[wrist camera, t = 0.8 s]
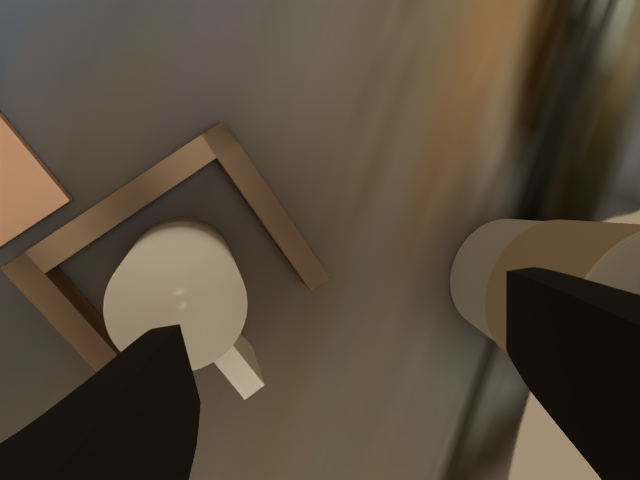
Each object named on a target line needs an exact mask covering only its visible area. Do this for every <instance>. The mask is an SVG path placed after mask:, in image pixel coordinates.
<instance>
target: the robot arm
mask: <svg viewBox="0 0 640 480" xmlns="http://www.w3.org/2000/svg"><path fill="white" fill-rule="evenodd" d="M506 351H507V353H508V355H509V357H510V358H511V360H512V362H513V364H514V365H515V367H516V369H517V371H518V372H519V374H520V375H521V377H522V379H523V380H524V382H525V384H526V385H527V387H528V388H529V390H530V391H531V392H532V393H533V395H534V396H535V397H536V398H537V400H538V401H539V402H540V403H541V405H542V406H543V407H544V409H545V410H546V411H547V412H548V413H549V415H550V416H551V417H552V419H553V420H554V421H555V422H556V424H557V425H558V426H559V427H560V429H561V430H562V431H563V432H564V433H565V435H566V436H567V437H568V438H569V440H570V441H571V442H572V443H573V444H574V446H575V447H576V448H577V449H578V451H579V452H580V453H581V454H582V455H583V457H584V458H585V459H586V461H587V462H588V463H589V464H590V466H591V467H592V468H593V469H594V470H595V472H596V473H597V474H598V475H599V477H600V478H601V479H602V480H640V295H639V294H635V293H632V292H628V291H624V290H621V289H617V288H614V287H610V286H607V285H604V284H600V283H597V282H593V281H590V280H586V279H583V278H579V277H576V276H572V275H569V274H565V273H561V272H557V271H553V270H549V269H544V268H538V267H529V268H523V269H517V270H511V271H506ZM200 403H201V402H200V399H199V395H198V391H197V387H196V383H195V380H194V376H193V372H192V368H191V365H190V361H189V357H188V353H187V349H186V346H185V342H184V338H183V334H182V331H181V327H180V324H177V325H171V326H165V327H159V328H153V329H150V330H149V331H147V332H145V333H144V334H143V335H141V336H140V337H139V338H137V339H136V340H135V341H134V342H133V343H131V344H130V345H129V346H128V347H126V348H125V349H124V350H123V351H122V352H120V353H119V354H118V355H117V356H116V357H115V358H113V359H112V360H111V361H110V362H108V363H107V364H106V365H105V366H104V367H102V368H101V369H100V370H99V371H98V372H96V373H95V374H94V375H93V376H92V377H90V378H89V379H88V380H87V381H86V382H84V383H83V384H82V385H80V386H79V387H78V388H77V389H75V390H74V391H73V392H71V393H70V394H69V395H67V396H66V397H65V398H64V399H62V400H61V401H60V402H58V403H57V404H56V405H54V406H53V407H52V408H51V409H49V410H48V411H47V412H45V413H44V414H43V415H41V416H40V417H39V418H37V419H36V420H34V421H33V422H32V423H30V424H29V425H27V426H26V427H24V428H23V429H22V430H20V431H19V432H17V433H16V434H14V435H13V436H11V437H10V438H8V439H7V440H5V441H3V442H2V443H0V480H189V476H190V472H191V467H192V463H193V459H194V454H195V450H196V445H197V436H198V427H199V415H200Z"/></svg>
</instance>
